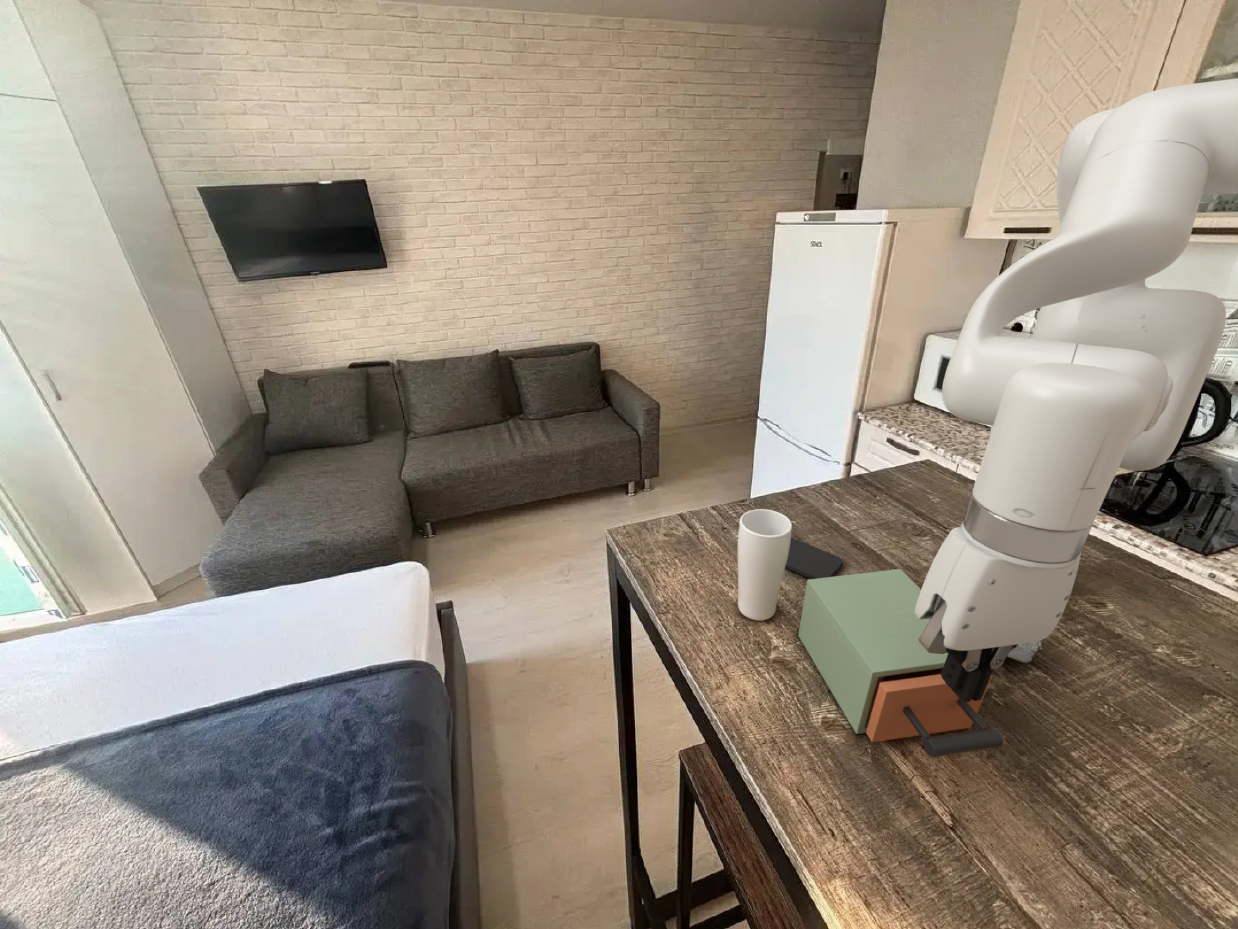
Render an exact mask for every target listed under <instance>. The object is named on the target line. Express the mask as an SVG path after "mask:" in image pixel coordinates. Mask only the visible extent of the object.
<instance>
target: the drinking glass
mask: <svg viewBox="0 0 1238 929" xmlns="http://www.w3.org/2000/svg"><path fill="white" fill-rule="evenodd" d="M792 530H793V525H792V521H791V520H790V519H789V518H788V516H786V515H785V514H783V513H781V512H778V511H776V510H772V509H768V508H767V509H766V508H757V509H756V508H755V509H750V510H748V511H746V512H744V513H743V514H742V515H741V516H740V518H739V524H738V530H737V543H736V545H737V546H736V547H737V548H736V549H737V552H736V553H737V554H736V556H737V557H736V558H737V608H738V610H739V612H740V613H741V615H743V616H744V617H746V618H748V619H749V620H753V621H759V622H760V621H761V622H762V621H766V620H769V619H771V618H772V617H773V616H774V615H775V613H776V611H777V605H778V604H777V603H778V599H779V596H780V595H779V594H780V590H781V586H782V583H783V579H784V574H785V570H786V568H785V567H786V563H787V559H788V555H789V549H790V543H791V538H792V532H793V531H792Z"/></svg>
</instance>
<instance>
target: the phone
mask: <svg viewBox="0 0 1238 929" xmlns="http://www.w3.org/2000/svg"><path fill="white" fill-rule="evenodd" d="M843 564H844V560H843V558H841V557H840V556H838V555H836V554H833V553H830V552H828V551H826V550H825V549H821V548H818V547H816V546H813V545H811V544H809V543H806V542H804V541H801V540H798V539H796V538H794V537H791V543H790V549H789V555H788V559H787V563H786V567H785V569H787V570H789V571H791V572H794V573H796V574H798V575H801V576H804V577H805V578H807V579H809V580H810V579H818V578H827V577H834V576H835V575H836V573H837V572H838V571H839V570H840V569H841V568H842V566H843Z"/></svg>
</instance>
